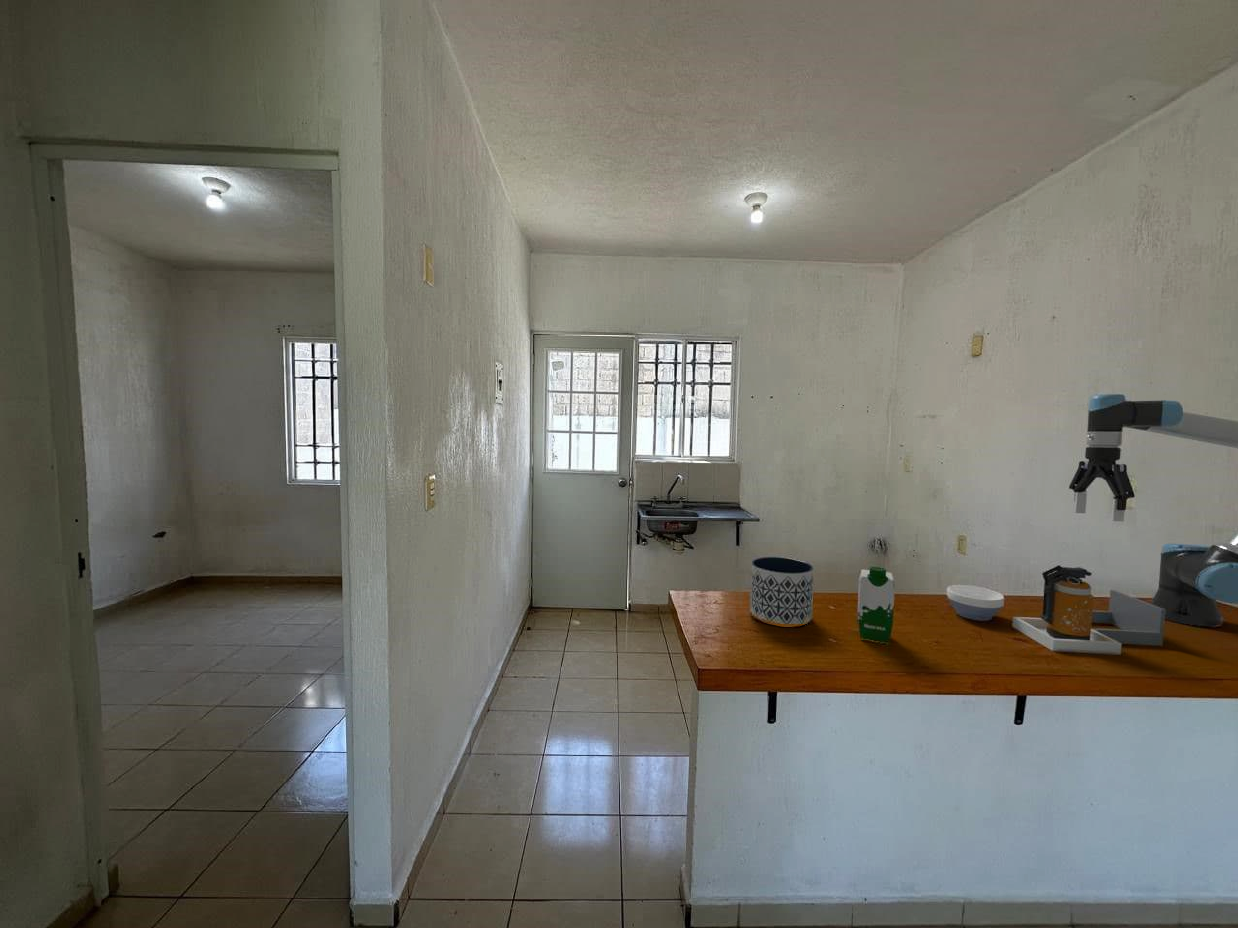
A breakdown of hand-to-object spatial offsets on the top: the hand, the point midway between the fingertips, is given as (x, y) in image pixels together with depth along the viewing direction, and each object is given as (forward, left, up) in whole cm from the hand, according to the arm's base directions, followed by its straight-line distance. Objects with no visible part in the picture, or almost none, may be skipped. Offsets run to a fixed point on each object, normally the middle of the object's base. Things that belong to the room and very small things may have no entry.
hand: (1097, 517), depth 150 cm
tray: (+20, +17, -32) cm, 41 cm away
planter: (+94, +11, -32) cm, 100 cm away
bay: (+4, +10, -32) cm, 33 cm away
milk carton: (+71, +23, -32) cm, 81 cm away
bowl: (+34, +2, -32) cm, 47 cm away
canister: (+19, +17, -31) cm, 41 cm away
